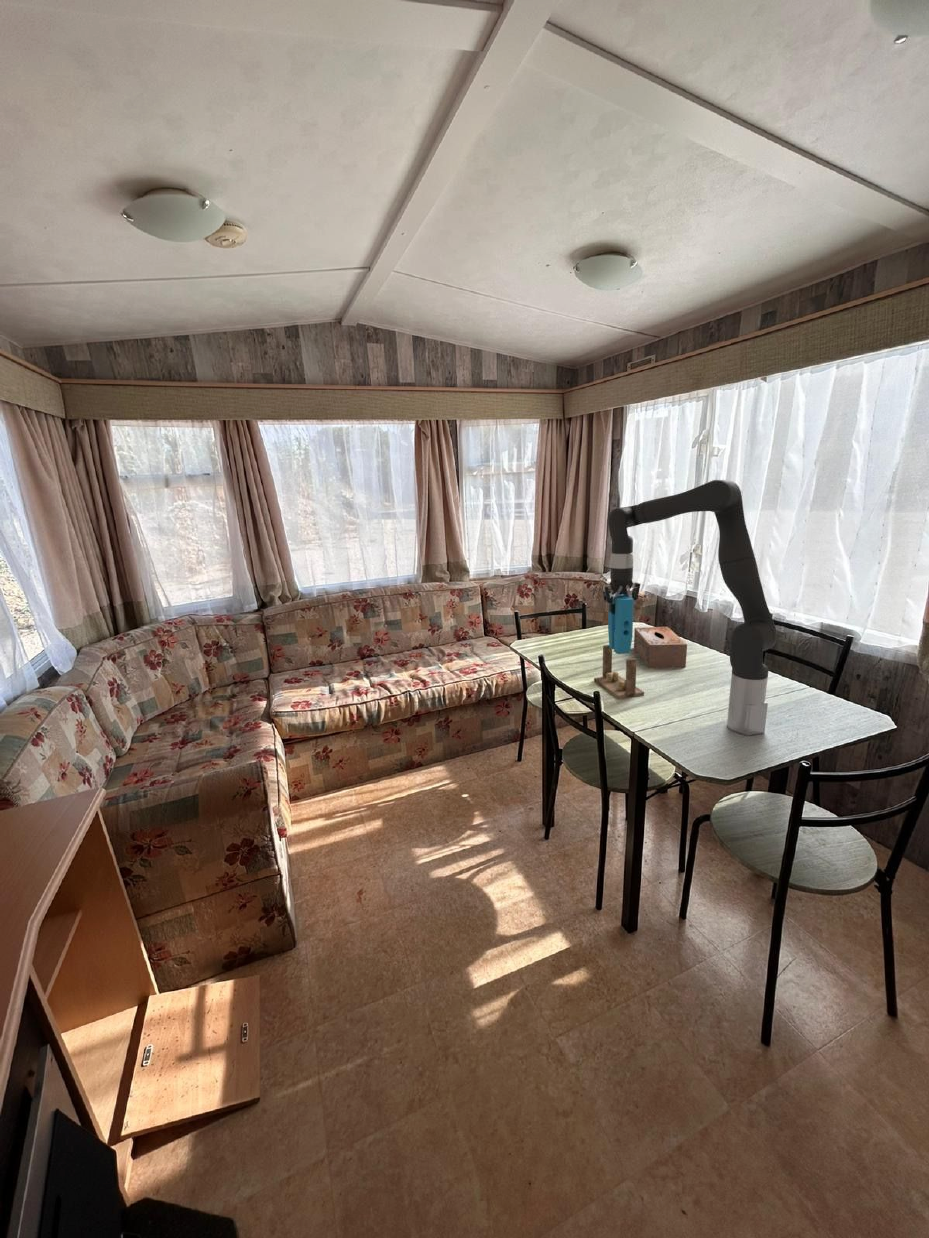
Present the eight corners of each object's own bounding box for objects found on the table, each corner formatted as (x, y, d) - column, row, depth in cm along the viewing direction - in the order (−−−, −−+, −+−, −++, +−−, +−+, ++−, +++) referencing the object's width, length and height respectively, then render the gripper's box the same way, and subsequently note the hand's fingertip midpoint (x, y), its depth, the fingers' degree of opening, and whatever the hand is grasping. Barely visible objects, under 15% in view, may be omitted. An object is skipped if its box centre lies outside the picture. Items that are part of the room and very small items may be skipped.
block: (632, 654, 173) (634, 599, 168) (618, 655, 173) (620, 600, 168) (620, 644, 185) (621, 592, 180) (607, 645, 184) (607, 593, 179)
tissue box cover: (633, 648, 225) (634, 627, 223) (666, 647, 224) (667, 626, 221) (648, 668, 201) (649, 645, 198) (685, 667, 199) (687, 644, 197)
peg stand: (617, 677, 192) (618, 643, 189) (643, 695, 175) (645, 657, 172) (594, 680, 190) (594, 646, 187) (618, 699, 173) (619, 661, 170)
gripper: (608, 569, 166) (607, 617, 170) (646, 565, 169) (644, 613, 173) (597, 566, 173) (596, 612, 177) (634, 562, 176) (632, 608, 180)
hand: (620, 612), depth 175 cm, fingers closed on block, 5 cm apart
